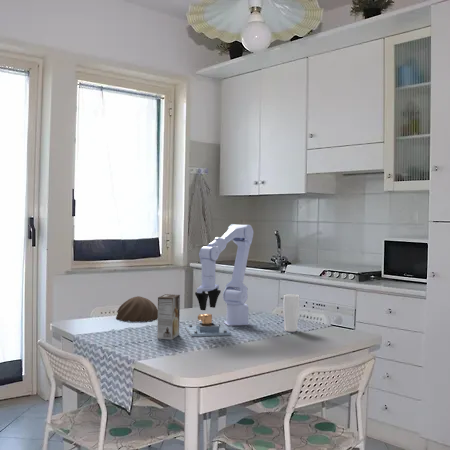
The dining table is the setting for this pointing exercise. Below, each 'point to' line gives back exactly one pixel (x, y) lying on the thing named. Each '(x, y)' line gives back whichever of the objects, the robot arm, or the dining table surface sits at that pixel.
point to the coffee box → (168, 316)
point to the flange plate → (207, 330)
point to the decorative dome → (137, 310)
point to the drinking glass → (291, 311)
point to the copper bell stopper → (205, 319)
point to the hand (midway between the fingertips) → (207, 308)
